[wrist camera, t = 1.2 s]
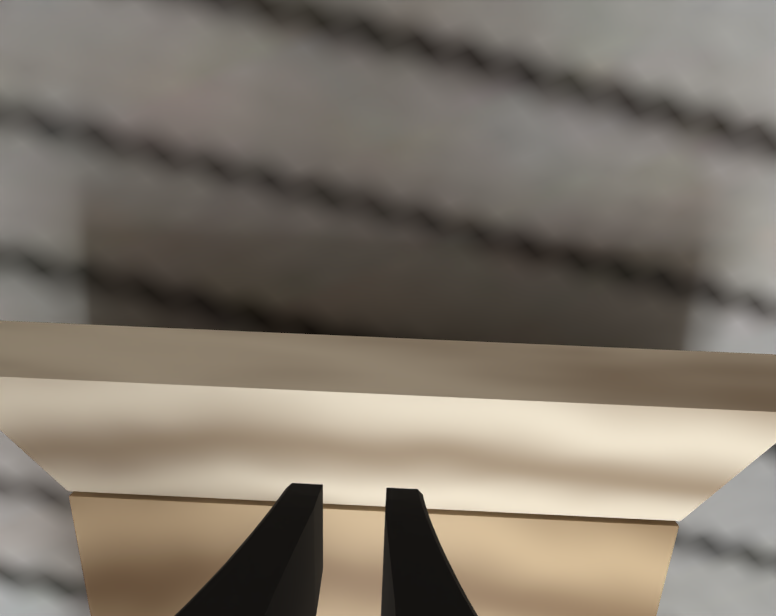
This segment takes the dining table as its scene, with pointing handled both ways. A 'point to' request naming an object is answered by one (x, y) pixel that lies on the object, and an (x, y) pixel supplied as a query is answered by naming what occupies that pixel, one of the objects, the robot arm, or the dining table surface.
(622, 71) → the dining table surface
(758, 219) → the dining table surface
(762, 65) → the dining table surface
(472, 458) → the maple plank
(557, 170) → the dining table surface
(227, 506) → the board
